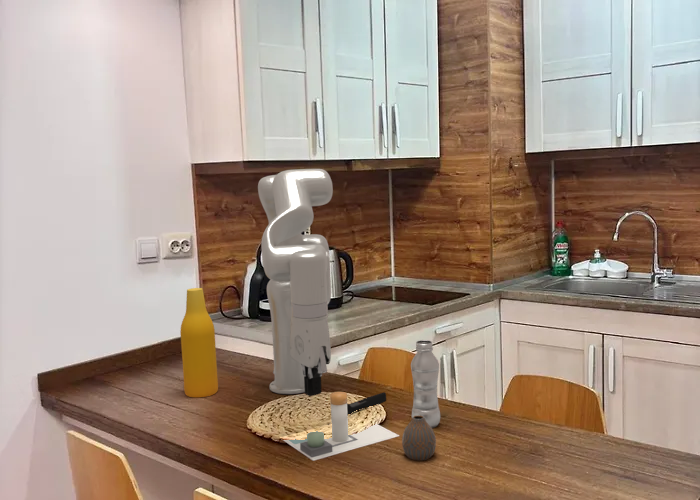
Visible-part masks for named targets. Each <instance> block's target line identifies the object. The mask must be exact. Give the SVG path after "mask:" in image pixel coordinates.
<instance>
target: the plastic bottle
mask: <svg viewBox="0 0 700 500" xmlns="http://www.w3.org/2000/svg"><path fill="white" fill-rule="evenodd" d="M415 345H416V346H415V350H416V354H415V355H414V356H413V358H412V360H411V362H410V369H411V376H412V381H413V382H412V383H413V384H412V385H413V405H412V409H411V418H412V417H413V416H416V415H421V416H423V417H424V418H425V420H426V422H427V423H428V424H429V425H430V427H431V428H432V429H434V428H436V427H438V425H439V424H440V421H441V412H440V406H439V400H438V399H439V397H438V378H439V371H440V370H439V369H440V362H439V360H438V358H437V357H436V355H435V354H434V353H433V351H434V346H433V341H432V340H427V339H425V340H423V339H422V340H421V339H420V340H416V342H415Z"/></svg>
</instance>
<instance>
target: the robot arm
mask: <svg viewBox="0 0 700 500" xmlns="http://www.w3.org/2000/svg"><path fill="white" fill-rule="evenodd" d="M257 191H258V192H257V193H258V198H259V201H260V203H261V205H262V208H263V210H264V212H265V214H266V217H267V220H268V225H267V226H266V228H265V230H264V232H263V234H262V237H261V245H260V246H261V256H262V257H261V259H262V265H263V270H264V273H265V276H266V277H267V278H268V279H269V281H268V282H267V285H266V295H267V301H268V305H269V309H270V310H269V311H270V318H271V319H270V320H271V321H270V322H271V334H272V350H273V353H272V354H273V372H272V373H273V374H274V380H272V382H270V384H269V390H270V391H271V392H273V393H275V394H279V395H295V394H296V395H297V394H302V393H304V395H306V396H307V397H313V396H317V395H321V394H322V376H323V374H325V373H327V372H328V368H327V365H329V364H330V363H331V358H332V356H331V355H332V354H331V353H332V351H331V339H330V338H331V337H330V328H329V323H328V316H329V313H328V312H329V309H328V307H329V306H328V305H329V304H330V302H331V297H332V295H331V294H332V286H331V282H332V281H331V278H332V277H331V258H330V248H329V243H328V240H327V239H326V237H325V236H323V234H322V235H321V234H316V233H315V234H311V233H310V234H302V233H304V232H305V231H306V230H308V229H309V228H310V227H311V225H312V224H313V222H314V216H315V215H314V211H313V207H321V206H323V205H326V204H328V203H329V202H330V201H331V200H332V197H333V194H334V193H333V192H334V190H333V181H332V179H331V176H330V174H329V173H328V171H327V170H325V169H322V168H305V169H297V168H296V169H286V170H283V171H280V172H279V173H276V174H272V175H266V176H264V177H262V178H260V180H259V181H258V185H257Z"/></svg>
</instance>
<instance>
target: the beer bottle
mask: <svg viewBox="0 0 700 500" xmlns="http://www.w3.org/2000/svg"><path fill="white" fill-rule="evenodd" d="M184 313H185V314H184V316H183V319H182V321H181V325H180V330H179V331H180V344H181V358H182V375H183V390H184V394H185V396H187V397H190V398H196V399H199V398H200V399H201V398H206V397H210V396H213V395H215V394H216V393H217V392H218V391H219V380H218V365H217V350H216V349H217V348H216V347H217V346H216V336H215V335H216V332H215V326H214V325H215V324H214V322H213V320H212V318H211V316H210V313H209V312H208V310H207V306H206V300H205V294H204V288H202V287H193V288H188V289H186V306H185V312H184Z"/></svg>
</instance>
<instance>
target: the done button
mask: <svg viewBox="0 0 700 500" xmlns="http://www.w3.org/2000/svg"><path fill="white" fill-rule="evenodd" d="M307 442H308V446H310V447H320V446H322V445H324V433H323V432H318V431H316V432H310V433H308V434H307Z"/></svg>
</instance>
